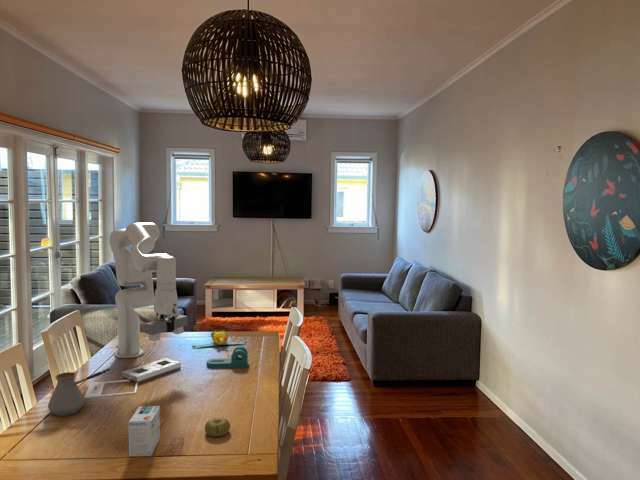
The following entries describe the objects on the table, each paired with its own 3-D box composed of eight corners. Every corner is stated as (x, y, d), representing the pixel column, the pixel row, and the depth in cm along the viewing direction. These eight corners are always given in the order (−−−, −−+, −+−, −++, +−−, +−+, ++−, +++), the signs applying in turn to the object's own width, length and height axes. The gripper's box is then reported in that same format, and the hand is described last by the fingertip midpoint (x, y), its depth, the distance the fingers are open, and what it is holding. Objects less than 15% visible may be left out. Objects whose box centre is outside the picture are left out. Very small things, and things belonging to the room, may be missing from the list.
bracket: (247, 363, 224) (247, 346, 224) (246, 368, 218) (246, 350, 217) (207, 363, 223) (207, 346, 222) (205, 368, 216) (205, 351, 216)
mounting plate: (122, 378, 202) (122, 371, 202) (165, 364, 221) (165, 357, 220) (137, 384, 197) (137, 376, 197) (180, 368, 215) (180, 362, 215)
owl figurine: (192, 334, 240) (190, 327, 254) (192, 351, 240) (190, 343, 255) (249, 330, 249) (244, 323, 263) (249, 347, 249) (244, 339, 263)
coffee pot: (41, 419, 165) (40, 375, 164) (56, 404, 176) (55, 364, 175) (107, 417, 167) (106, 374, 166) (118, 403, 179) (117, 363, 177)
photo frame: (90, 382, 196) (138, 378, 201) (90, 385, 196) (138, 380, 201) (84, 396, 182) (136, 391, 187) (84, 399, 182) (136, 394, 188)
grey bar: (144, 340, 196) (144, 323, 195) (180, 330, 211) (180, 314, 210) (151, 342, 193) (151, 325, 193) (187, 332, 208) (187, 316, 208)
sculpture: (215, 429, 151) (199, 421, 156) (215, 441, 151) (199, 433, 156) (235, 420, 157) (219, 413, 162) (235, 432, 157) (219, 425, 162)
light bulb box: (138, 439, 152) (138, 405, 151) (160, 438, 153) (160, 405, 152) (128, 457, 142) (127, 421, 141) (152, 456, 142) (151, 420, 141)
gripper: (145, 285, 202) (145, 328, 203) (172, 290, 192) (173, 335, 194) (160, 282, 208) (160, 324, 210) (187, 287, 199) (187, 331, 200)
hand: (166, 329), depth 202 cm, fingers closed on grey bar, 4 cm apart
